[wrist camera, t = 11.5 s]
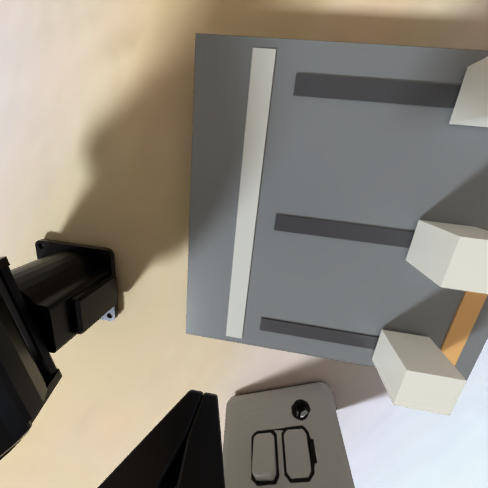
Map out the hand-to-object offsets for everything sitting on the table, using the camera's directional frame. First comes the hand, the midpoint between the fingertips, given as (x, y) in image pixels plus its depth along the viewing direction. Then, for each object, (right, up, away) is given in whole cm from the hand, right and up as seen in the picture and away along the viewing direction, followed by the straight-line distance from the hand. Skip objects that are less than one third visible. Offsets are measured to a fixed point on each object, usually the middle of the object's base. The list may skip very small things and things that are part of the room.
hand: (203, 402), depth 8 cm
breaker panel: (+8, +6, +10) cm, 14 cm away
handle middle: (+13, +5, +7) cm, 15 cm away
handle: (+12, -2, +10) cm, 15 cm away
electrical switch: (+5, -10, +16) cm, 19 cm away
